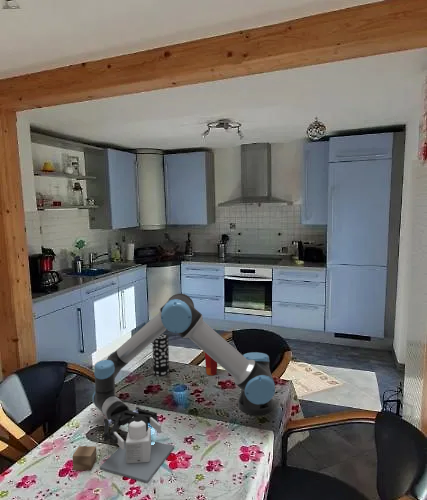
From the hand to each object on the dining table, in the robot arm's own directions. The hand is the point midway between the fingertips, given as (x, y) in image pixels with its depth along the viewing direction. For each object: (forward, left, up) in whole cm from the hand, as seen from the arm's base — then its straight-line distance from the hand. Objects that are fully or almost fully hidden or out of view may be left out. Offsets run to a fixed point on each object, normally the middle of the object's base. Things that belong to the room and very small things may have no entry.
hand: (142, 437), depth 120 cm
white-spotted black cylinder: (+29, -64, -10) cm, 71 cm away
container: (+3, -2, -9) cm, 9 cm away
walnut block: (+18, +7, -10) cm, 22 cm away
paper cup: (+4, -73, -10) cm, 73 cm away
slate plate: (+3, -2, -9) cm, 10 cm away
